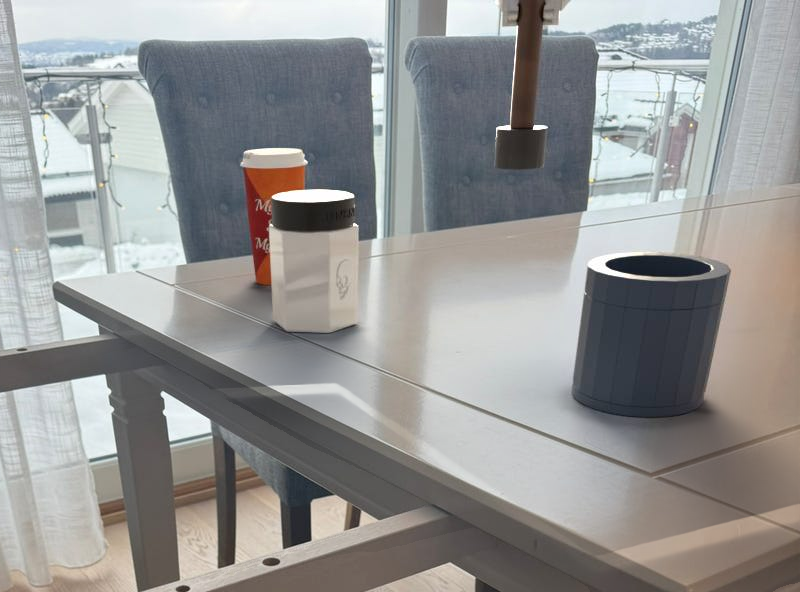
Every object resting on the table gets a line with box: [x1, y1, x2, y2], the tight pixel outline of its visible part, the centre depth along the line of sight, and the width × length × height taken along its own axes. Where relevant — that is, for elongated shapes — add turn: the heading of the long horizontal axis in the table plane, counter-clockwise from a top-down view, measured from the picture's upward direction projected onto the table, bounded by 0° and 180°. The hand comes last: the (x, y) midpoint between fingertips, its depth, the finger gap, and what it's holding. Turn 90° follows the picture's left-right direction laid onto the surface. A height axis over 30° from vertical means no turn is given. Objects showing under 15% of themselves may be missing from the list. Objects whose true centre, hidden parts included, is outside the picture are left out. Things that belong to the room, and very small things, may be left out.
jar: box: [269, 189, 360, 334], centre depth 93 cm, size 9×8×12 cm
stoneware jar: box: [571, 251, 732, 418], centre depth 73 cm, size 10×10×10 cm
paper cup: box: [239, 147, 309, 287], centre depth 109 cm, size 8×8×14 cm
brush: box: [493, 0, 548, 171], centre depth 90 cm, size 5×5×16 cm
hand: (530, 20), depth 87 cm, fingers closed on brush, 2 cm apart
